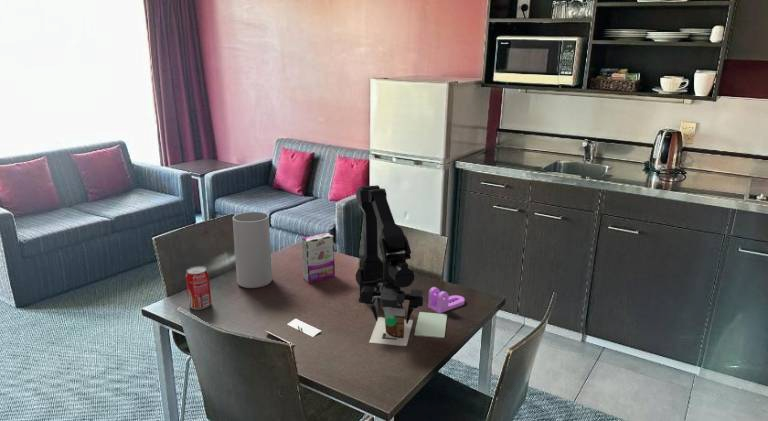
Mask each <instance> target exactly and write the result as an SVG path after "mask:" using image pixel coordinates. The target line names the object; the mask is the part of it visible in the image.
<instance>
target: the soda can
mask: <svg viewBox="0 0 768 421" xmlns="http://www.w3.org/2000/svg"><path fill="white" fill-rule="evenodd" d="M185 282H186V292H187V301H188V306H189V308H190V309H191V310H195V311H200V310H204V309H207V308H209V307H210V306H211V304H212V296H211V286H210V276H209V271H208V269H207V267H205V266H204V265H203V266H202V265H198V266H191V267H189V268H188V269H186V274H185Z"/></svg>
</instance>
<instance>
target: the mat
mask: <svg viewBox="0 0 768 421" xmlns="http://www.w3.org/2000/svg"><path fill="white" fill-rule="evenodd" d="M447 319H448V314H446V313H438V312H435V313H434V312H423V311H419V312H418V317H417V321H416V324H415V330H414V333H413V334H414V335H413V336H416V337H427V338H439V339H445V336H446V326H447Z"/></svg>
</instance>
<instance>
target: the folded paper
mask: <svg viewBox="0 0 768 421" xmlns="http://www.w3.org/2000/svg"><path fill="white" fill-rule="evenodd" d="M286 325H287V326H290V327H291V328H294V329H295V330H297V331H299V332H302V333H304V334H306V335H308V336H310V337H312V338H313V337H315V336H316V335H317V334H319V333H320V332H322V330H321V329H320V328H317V327H314V326H312V325H310V324H308V323H305V322H304V321H301V320H299V319H298V318H294V319H292V320H291V321H290V322H288V323H287V324H286ZM264 331H265V332H266V333H269V334H270V335H272V336H274V337H276V338H279V339H280V340H282V341H284V342H286V343H288V344H290V343H291V342H290V341H287V340H286V339H284V338H283V337H280V336H278V335H275V333H272V332H270V331H267V330H264ZM290 345H292V346H295V344H294V343H291V344H290Z"/></svg>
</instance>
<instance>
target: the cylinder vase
mask: <svg viewBox="0 0 768 421" xmlns="http://www.w3.org/2000/svg"><path fill="white" fill-rule="evenodd" d="M232 227H233V231H232V232H233V242H234V243H233V244H234V257H235V258H234V259H235V269H236V270H235V271H236V272H235V273H236V283H237V285H238V286H240V287H242V288H244V289H245V288H246V289H257V288H258V289H259V288H263V287H265V286H268V285H269V284H271V283H272V281H273V272H272V271H273V270H272V252H271V251H272V250H271V248H272V247H271V232H270V216H269V214H268V213H266V212H262V211H246V212H241V213H236V214H235V215H233V216H232Z"/></svg>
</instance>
